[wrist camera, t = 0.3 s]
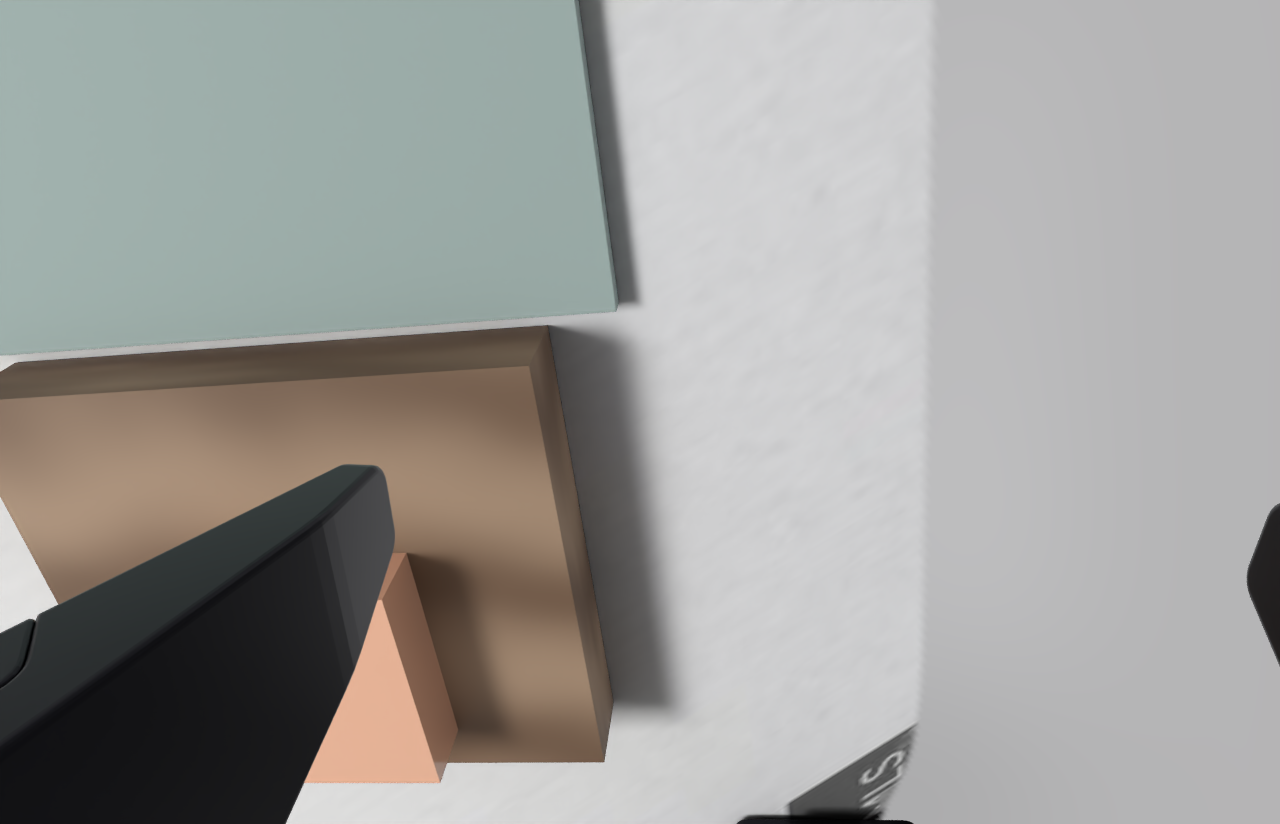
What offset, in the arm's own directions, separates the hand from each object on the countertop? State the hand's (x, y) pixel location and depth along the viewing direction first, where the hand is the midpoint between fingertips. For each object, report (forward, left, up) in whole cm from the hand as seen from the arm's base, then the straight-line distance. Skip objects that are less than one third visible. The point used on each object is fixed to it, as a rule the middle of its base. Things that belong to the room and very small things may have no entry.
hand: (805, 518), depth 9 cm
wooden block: (-10, +14, -14) cm, 22 cm away
